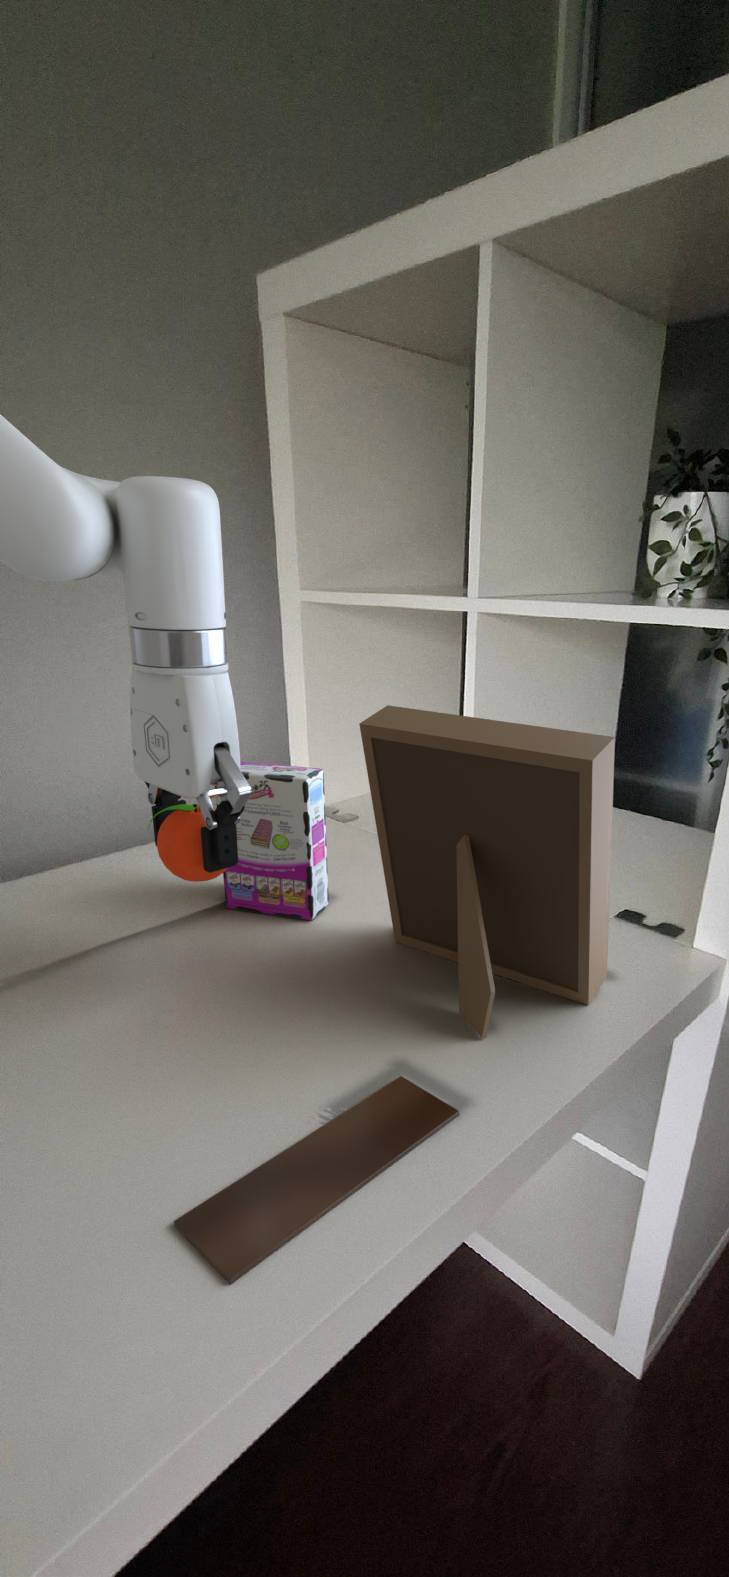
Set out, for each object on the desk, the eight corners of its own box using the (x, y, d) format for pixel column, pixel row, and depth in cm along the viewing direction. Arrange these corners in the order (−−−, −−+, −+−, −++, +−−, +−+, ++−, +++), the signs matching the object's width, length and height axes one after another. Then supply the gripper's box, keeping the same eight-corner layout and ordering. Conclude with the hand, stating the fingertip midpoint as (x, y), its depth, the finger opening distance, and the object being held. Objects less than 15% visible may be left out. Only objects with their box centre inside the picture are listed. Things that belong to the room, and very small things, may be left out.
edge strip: (173, 1225, 48) (173, 1221, 47) (401, 1079, 61) (401, 1075, 61) (230, 1284, 44) (230, 1279, 44) (459, 1115, 57) (459, 1110, 57)
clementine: (135, 889, 68) (127, 811, 65) (166, 861, 74) (160, 789, 71) (224, 897, 67) (220, 819, 64) (248, 868, 74) (245, 796, 71)
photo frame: (417, 927, 86) (421, 696, 75) (605, 985, 74) (639, 725, 64) (331, 983, 74) (322, 721, 64) (537, 1062, 63) (566, 760, 53)
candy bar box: (330, 904, 91) (326, 767, 84) (313, 922, 86) (307, 779, 80) (244, 892, 94) (234, 758, 87) (223, 908, 89) (210, 769, 83)
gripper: (84, 642, 65) (109, 840, 72) (200, 666, 55) (216, 896, 62) (164, 637, 70) (180, 823, 78) (284, 659, 60) (290, 873, 67)
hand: (196, 854), depth 70 cm, fingers closed on clementine, 7 cm apart
